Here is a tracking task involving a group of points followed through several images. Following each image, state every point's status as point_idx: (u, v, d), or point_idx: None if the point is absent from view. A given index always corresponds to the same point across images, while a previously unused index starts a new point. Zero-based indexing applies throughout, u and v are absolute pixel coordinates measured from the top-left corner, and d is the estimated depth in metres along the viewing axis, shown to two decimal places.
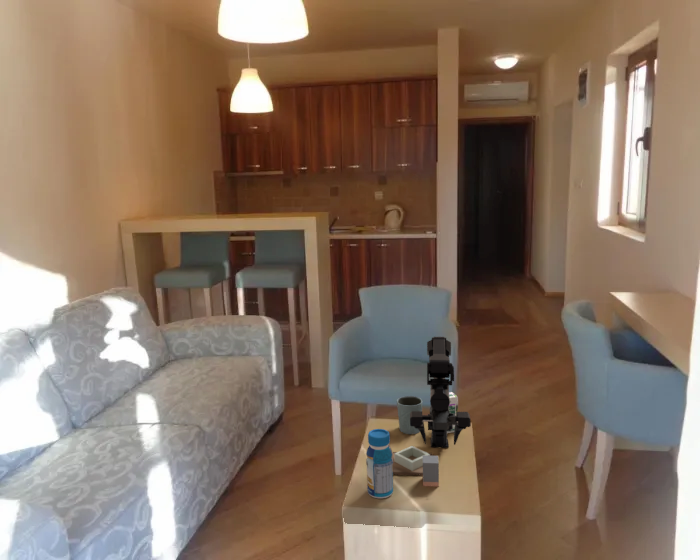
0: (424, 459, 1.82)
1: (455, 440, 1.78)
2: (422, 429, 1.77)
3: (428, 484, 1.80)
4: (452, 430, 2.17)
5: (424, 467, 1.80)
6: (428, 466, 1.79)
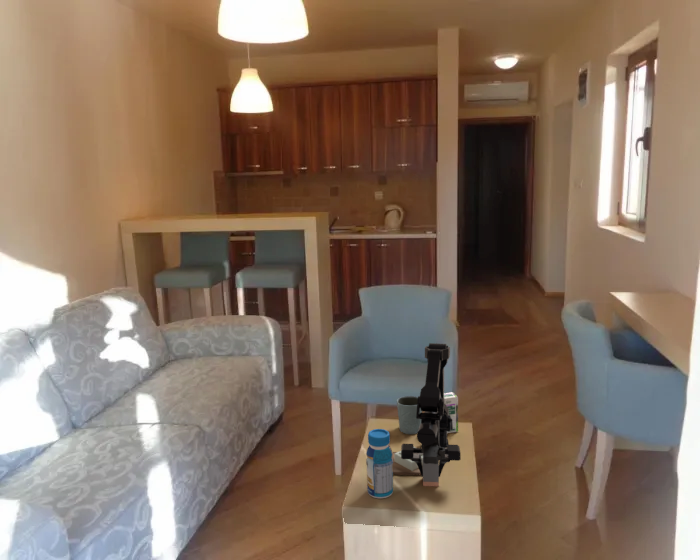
0: None
1: (439, 472, 1.81)
2: (419, 462, 1.80)
3: (428, 484, 1.80)
4: (452, 430, 2.17)
5: (424, 467, 1.80)
6: (427, 466, 1.79)
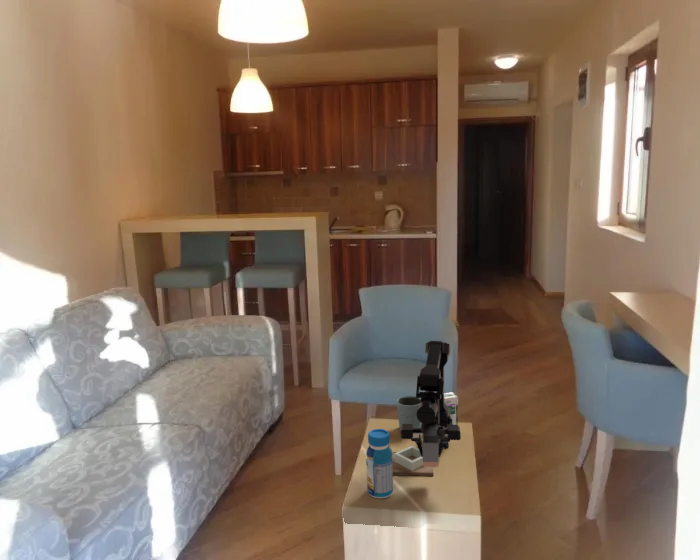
0: None
1: (439, 453, 1.80)
2: (419, 442, 1.79)
3: (428, 464, 1.79)
4: None
5: (424, 447, 1.78)
6: (427, 446, 1.78)
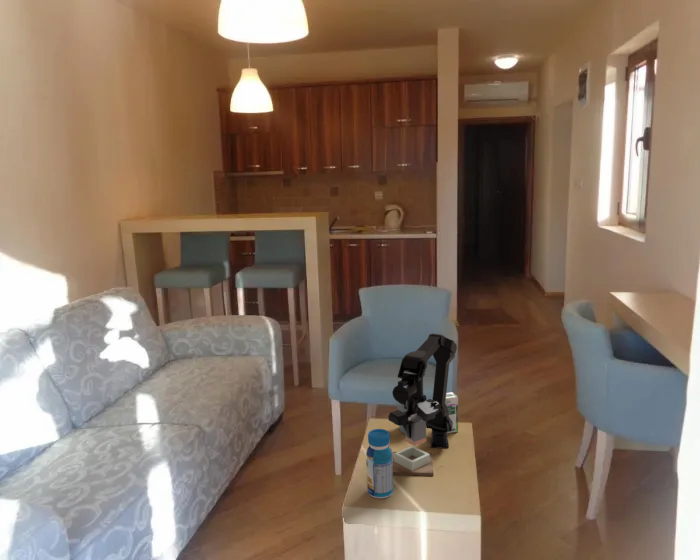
0: (411, 420, 1.88)
1: None
2: (411, 424, 1.86)
3: (418, 442, 1.88)
4: (452, 430, 2.17)
5: (415, 427, 1.86)
6: (418, 425, 1.87)
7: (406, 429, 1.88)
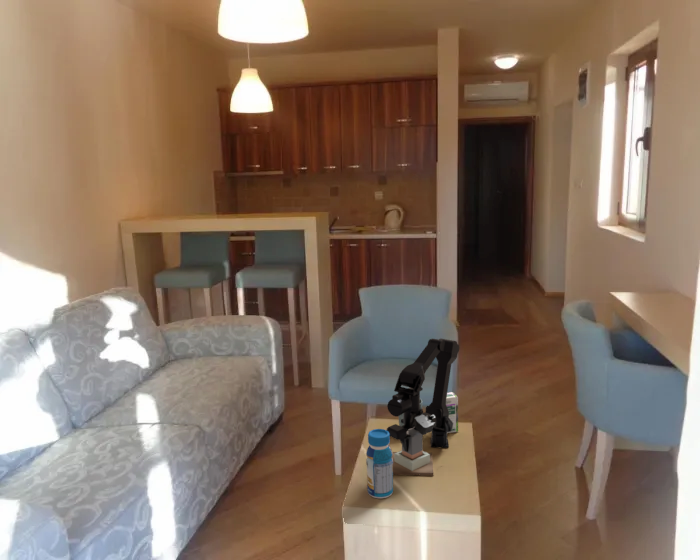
0: None
1: None
2: (408, 438, 1.89)
3: (415, 456, 1.91)
4: (452, 430, 2.17)
5: (413, 441, 1.89)
6: (415, 439, 1.90)
7: (403, 443, 1.91)
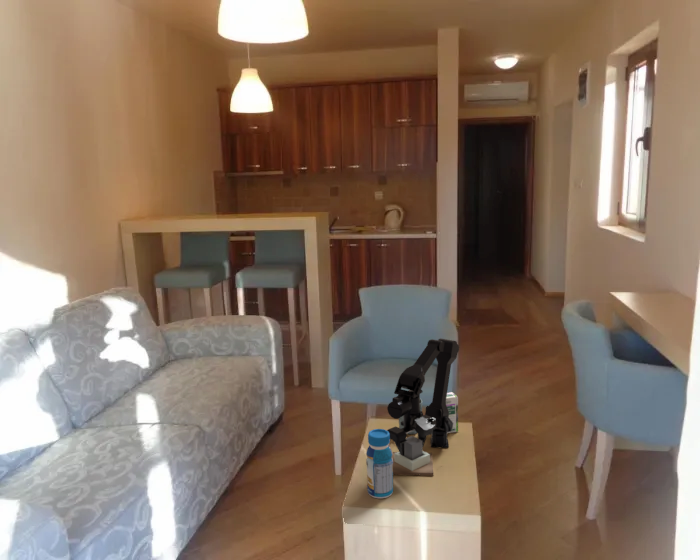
0: (408, 442, 1.91)
1: (423, 442, 1.96)
2: (404, 442, 1.88)
3: None
4: (452, 430, 2.17)
5: (413, 448, 1.90)
6: (415, 447, 1.91)
7: (399, 447, 1.90)
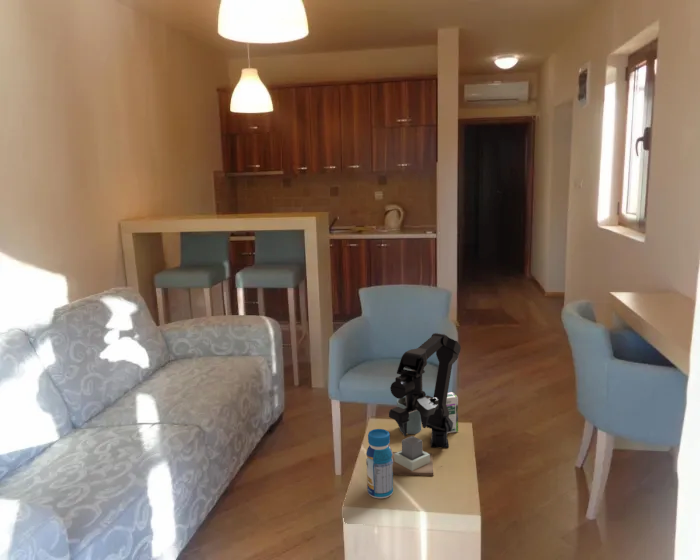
0: (408, 442, 1.91)
1: (426, 423, 1.95)
2: None
3: None
4: (452, 430, 2.17)
5: (413, 448, 1.90)
6: (415, 447, 1.91)
7: (402, 427, 1.89)
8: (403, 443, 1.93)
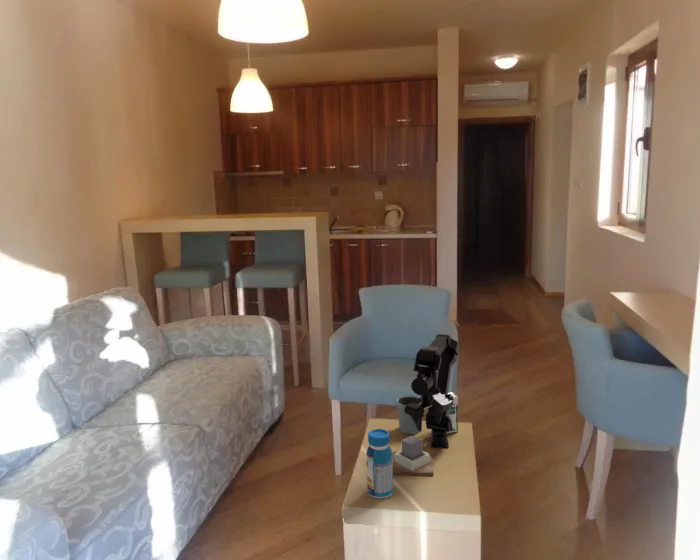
0: (408, 442, 1.91)
1: (440, 419, 1.97)
2: (422, 417, 1.89)
3: None
4: (452, 430, 2.17)
5: (413, 448, 1.90)
6: (415, 447, 1.91)
7: (417, 423, 1.91)
8: (403, 443, 1.93)
